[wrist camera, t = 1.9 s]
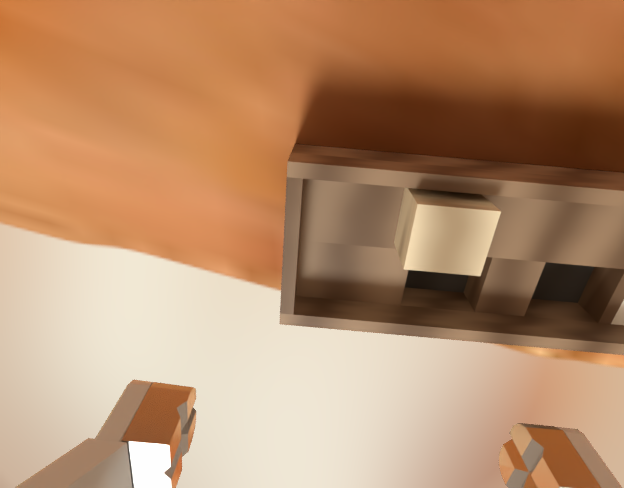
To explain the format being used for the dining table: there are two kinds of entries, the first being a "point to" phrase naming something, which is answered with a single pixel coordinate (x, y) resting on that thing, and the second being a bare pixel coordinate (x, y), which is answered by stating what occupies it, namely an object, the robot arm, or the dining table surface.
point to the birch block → (445, 231)
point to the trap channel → (444, 286)
